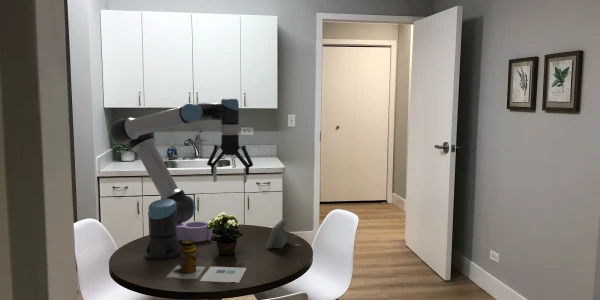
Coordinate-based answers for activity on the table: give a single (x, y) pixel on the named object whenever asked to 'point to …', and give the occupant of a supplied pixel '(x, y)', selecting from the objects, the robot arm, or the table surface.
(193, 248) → the condiment
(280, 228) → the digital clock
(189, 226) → the purple compartment organizer
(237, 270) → the tile
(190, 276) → the mat
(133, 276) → the table surface
